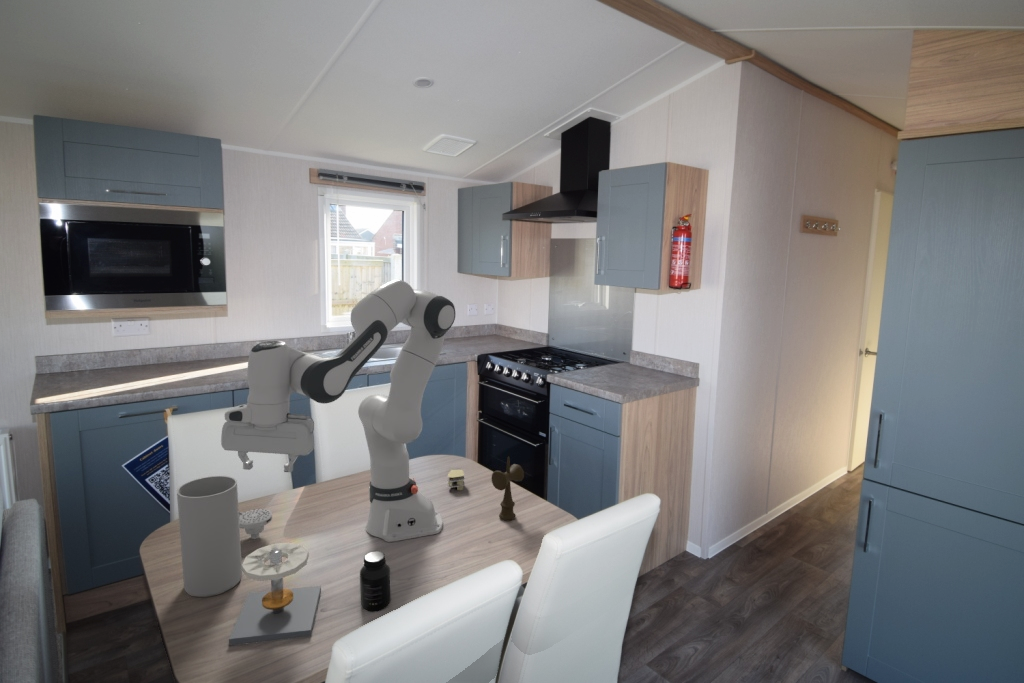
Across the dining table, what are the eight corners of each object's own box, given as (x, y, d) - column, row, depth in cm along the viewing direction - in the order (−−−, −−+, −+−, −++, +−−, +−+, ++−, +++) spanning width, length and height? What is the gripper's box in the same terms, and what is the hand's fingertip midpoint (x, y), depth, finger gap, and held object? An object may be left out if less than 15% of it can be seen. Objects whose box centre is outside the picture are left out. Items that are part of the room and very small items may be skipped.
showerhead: (248, 503, 161) (278, 507, 159) (249, 527, 162) (280, 531, 160) (225, 518, 152) (257, 522, 150) (227, 543, 153) (259, 547, 151)
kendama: (489, 520, 169) (490, 458, 166) (510, 509, 176) (511, 450, 173) (504, 526, 165) (505, 463, 162) (524, 515, 173) (526, 455, 170)
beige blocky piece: (443, 482, 197) (443, 468, 196) (468, 482, 198) (468, 467, 197) (442, 494, 187) (442, 479, 187) (469, 494, 188) (469, 478, 188)
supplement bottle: (363, 595, 131) (362, 548, 129) (392, 594, 131) (391, 547, 129) (357, 613, 124) (356, 564, 122) (388, 612, 124) (387, 563, 123)
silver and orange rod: (296, 600, 126) (293, 543, 124) (290, 618, 120) (288, 558, 118) (266, 603, 125) (263, 545, 122) (259, 621, 118) (256, 561, 116)
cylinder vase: (180, 603, 126) (172, 501, 122) (188, 574, 137) (181, 480, 133) (241, 591, 131) (235, 492, 127) (243, 564, 142) (238, 473, 138)
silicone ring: (311, 545, 128) (311, 540, 128) (302, 577, 115) (302, 571, 115) (251, 550, 125) (251, 545, 125) (235, 583, 113) (235, 578, 113)
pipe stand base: (321, 591, 132) (320, 585, 131) (310, 636, 116) (310, 629, 116) (249, 598, 128) (249, 592, 128) (229, 645, 113) (228, 639, 113)
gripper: (319, 411, 128) (317, 468, 130) (231, 405, 128) (231, 462, 130) (308, 419, 122) (308, 478, 124) (217, 413, 122) (217, 472, 124)
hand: (268, 470), depth 127 cm, fingers open, 8 cm apart
